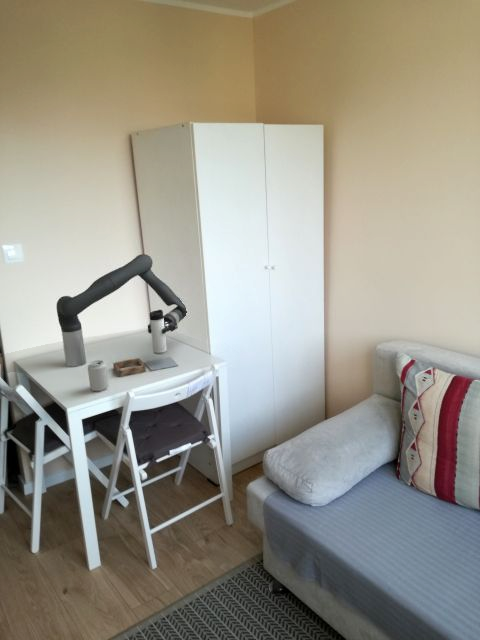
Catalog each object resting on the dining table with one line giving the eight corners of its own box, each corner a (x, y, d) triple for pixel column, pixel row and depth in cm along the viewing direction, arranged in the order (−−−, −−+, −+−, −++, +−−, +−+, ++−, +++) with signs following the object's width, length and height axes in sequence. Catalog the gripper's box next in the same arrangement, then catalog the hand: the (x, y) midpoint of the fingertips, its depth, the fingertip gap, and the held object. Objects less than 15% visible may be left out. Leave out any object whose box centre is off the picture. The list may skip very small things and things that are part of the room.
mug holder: (118, 377, 228) (118, 371, 227) (113, 368, 239) (112, 362, 238) (146, 372, 233) (145, 365, 232) (139, 363, 244) (139, 357, 243)
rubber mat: (151, 371, 233) (151, 370, 233) (144, 362, 245) (144, 361, 245) (178, 366, 238) (178, 365, 238) (170, 357, 250) (170, 356, 250)
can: (110, 390, 214) (106, 363, 211) (91, 393, 212) (87, 366, 209) (107, 384, 221) (104, 358, 218) (89, 387, 219) (86, 360, 215)
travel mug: (170, 350, 241) (166, 310, 236) (161, 355, 236) (156, 314, 230) (160, 349, 245) (155, 308, 239) (150, 353, 239) (146, 312, 233)
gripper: (155, 313, 251) (140, 323, 236) (182, 313, 248) (169, 324, 232) (156, 328, 253) (142, 338, 238) (183, 328, 250) (171, 339, 234)
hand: (156, 331), depth 235 cm, fingers closed on travel mug, 6 cm apart
